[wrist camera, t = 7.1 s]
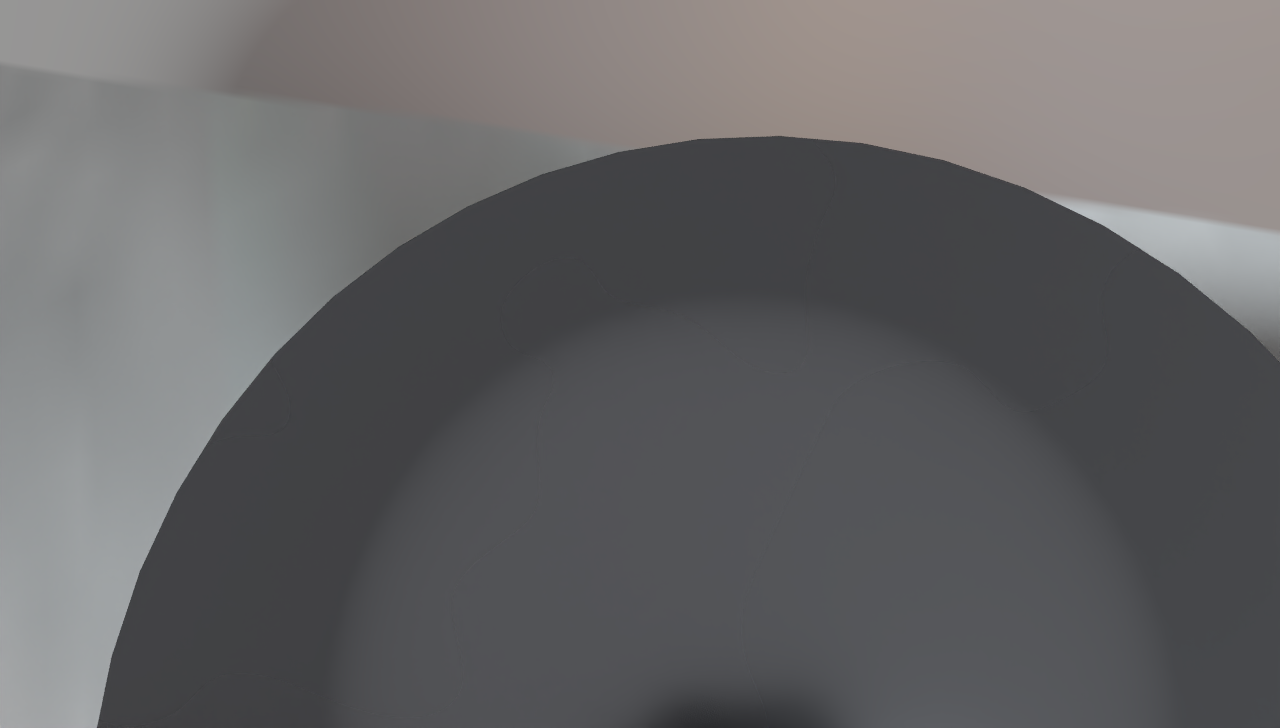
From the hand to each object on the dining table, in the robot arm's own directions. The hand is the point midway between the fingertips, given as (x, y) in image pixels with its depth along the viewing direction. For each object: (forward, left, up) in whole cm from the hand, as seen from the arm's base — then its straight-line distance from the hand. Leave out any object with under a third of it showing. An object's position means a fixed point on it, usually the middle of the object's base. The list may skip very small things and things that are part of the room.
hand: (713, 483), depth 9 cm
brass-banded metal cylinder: (-1, -1, -7) cm, 7 cm away
